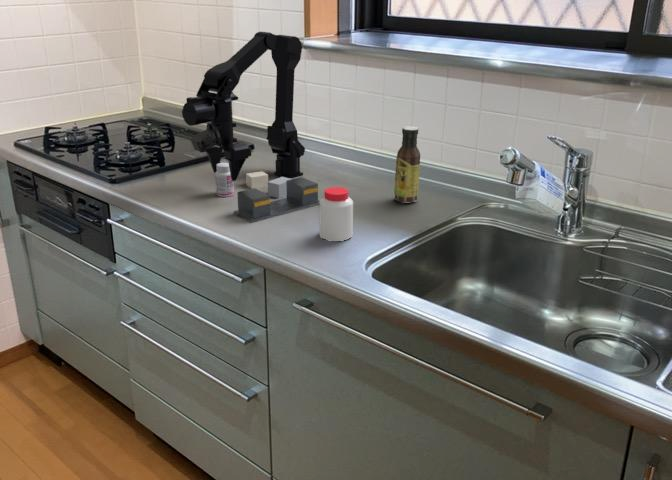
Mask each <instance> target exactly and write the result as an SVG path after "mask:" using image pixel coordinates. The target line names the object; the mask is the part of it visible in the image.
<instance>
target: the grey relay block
mask: <svg viewBox="0 0 672 480" xmlns="http://www.w3.org/2000/svg"><path fill="white" fill-rule="evenodd" d="M291 179H292V178H286V177H281V176H279V177H277V178H274V179H272V180H268V187H267V194H268V195H270V197H272V198H275V199H283V198H284V197H287V187H286V181H287V180H291Z"/></svg>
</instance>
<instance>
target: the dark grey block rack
mask: <svg viewBox="0 0 672 480" xmlns="http://www.w3.org/2000/svg"><path fill="white" fill-rule="evenodd" d="M290 179H291V180H287V181H286V187H287V196H286V197H285V198H280V199H276V200H274V201H273V200H272V201H271V196H270V195H268V193H266V192H263V191H261V190H260V189H258V188H253V189H251V188H249V189H245V190H241V191H237V210H234V211H233V214H234V215H236V216H238V217H240V218H241V219H244V220H246V221H248V222H249V223H251V224H252V223H255V222H258V221H259V222H260V221H262V220H267V219H270V218H271V219H272V218H273V217H278V216H281V214H282V215H284V214H285V213H286V214H289V213H292V212H295V211H296V210H297V211H301V210H304V209H308V208H311V206H312V207H315V206H320V200H321V199H319V184H318V182H315V181H313V180H310V179H308V178H305V177H303V176H302V177H300V176H299V177H297V178H290Z"/></svg>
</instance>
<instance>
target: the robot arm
mask: <svg viewBox="0 0 672 480" xmlns="http://www.w3.org/2000/svg"><path fill="white" fill-rule="evenodd" d="M302 43H303V42H302V41H301V40H300V39H299V37H298V36H296V35H295V36H294V35H293V36H292V35H285V34H273V33H272V32H268V31H258V32H256V33H255V34H254V36H253V37H252V38H251V39H250V40H249V41H248V42H247V43H246V44H244V45H243V46H242V47H241V48H240V49H239V50H238V51H237V52H235V54H233V55H232V56H231V57H230V58H229V59H227V60H226V61H224V62H221V63H218V64H216V65H214V66H212V67H211V68H209V69H207V71H206V72H205V73H204V75H203V77H204V78H203V80H202V82H201V84H200V87H199V89H198V91H197V93H196V96H195V97H194V96H192V97H191V96H190V97H186V100H185V101H186V102H185V103H184V105H183V107H182V110H181V114H182V118H183V120H184V122H185V124H187V125H188V126H190V127H192V126H193V127H194V126H196V125H202V124H206V129H204V130H202V131H200V132H198V133H196V134H195V135H194V136H192V137H190V138H189V140H190V142H191V145H192V146H193V149H194V151H198V152H199V153H205V154H206V156H207V158H208V161H209V163H210V165H211V168H212V171H213V173H214V174H216V171H217V169H216V165H217V164H218V163H221V160H222V156H223V155H224V157H223V159H224V160H225V161H226V163H229V168H230V174H231V179H232V181H234V182H235V181H237V179H238V178H239V175H240V171H241V169H242V168H243V165H244V164H245V162H246V160H247V159H249V157H252V148H251V147H250V146H249V145H248V144H245V143H244V142H243V143H242V142H238V140H237V137H234V128H237V123H236V122H234V120H233V104H232V103H233V101H237V100H239V97H238V96H237V95H236V94H234V92H233V91H234V90H235V88H236V87H237V86H238V85H239V83H240V80H241V77H242V75H243V73H244V72H246V71H247V70H248V69H249V68H250V67H251V66H252V65H253V64H254V63H255V62H256V61H258V60H259V58H260V57H262V56H263V55H265V53H266V52H267V51H271V53H270V55H271V58H272V59H271V60H272V61H273V63H274V65H275V67H276V78H275V79H276V82H275V83H276V85H275V110H274V111H275V113H274V121H273V123H272V124H271V125H268V126H267V128H266V130H267V131H266V132H267V134H266V135H267V136H266V140H267V143H268V146H270V149H271V153H272V154H276V160H275V171H274V172H273V174H274V175H277V176H279V177H286V178H290V179H292V178H295V177H300V176H303V175H304V173H303V172H302V171H301V159H300V158H302V156H304V155H305V151H306V148H305V146H304V145H303V144H302V143H301V142H300V140H299V138H298V130H297V127H296V124H295V123H294V121H293V116H294V115H293V113H294V94H295V93H294V90H295V89H294V88H295V87H294V86H295V71H296V67H297V66H298V64H299V62H300V61H301V59H302V58H301V56H302V50H303V44H302ZM222 154H223V155H222Z"/></svg>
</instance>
